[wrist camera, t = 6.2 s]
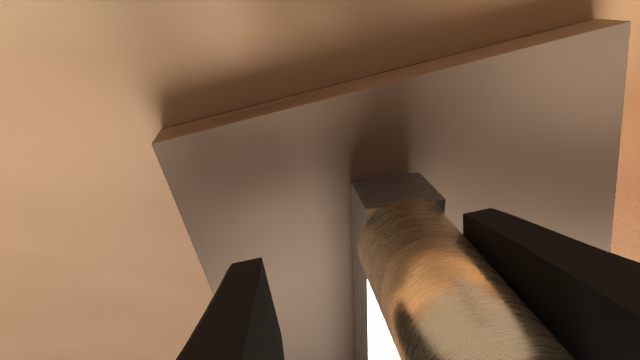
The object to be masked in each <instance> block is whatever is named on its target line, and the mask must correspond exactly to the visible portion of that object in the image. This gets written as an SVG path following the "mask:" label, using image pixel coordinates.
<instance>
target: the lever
mask: <svg viewBox="0 0 640 360" xmlns="http://www.w3.org/2000/svg"><path fill="white" fill-rule="evenodd" d="M350 197H351V228H352V259H353V290H354V321H355V352H356V360H575V359H574V358H573V357H572V356H571V355H570V354H569V353H568V352H567V351H566V349H565V348H564V347H563V346H562V345H561V344H560V343H559V342H558V340H557V339H556V338H555V337H554V336H553V335H552V334H551V333H550V331H549V330H548V329H547V328H546V327H545V326H544V325H543V324H542V323H541V321H540V320H539V319H538V318H537V317H536V316H535V315H534V314H533V312H532V311H531V310H530V309H529V308H528V307H527V306H526V305H525V304H524V302H523V301H522V300H521V299H520V298H519V297H518V296H517V295H516V293H515V292H514V291H513V290H512V289H511V288H510V287H509V286H508V284H507V283H506V282H505V281H504V280H503V279H502V278H501V277H500V276H499V274H498V273H497V272H496V271H495V270H494V269H493V268H492V267H491V265H490V264H489V263H488V262H487V261H486V260H485V259H484V258H483V256H482V255H481V254H480V253H479V252H478V251H477V250H476V249H475V248H474V246H473V245H472V244H471V243H470V242H469V241H468V240H467V239H466V237H465V236H464V235H463V234H462V233H461V232H460V231H459V230H458V229H457V227H456V226H455V225H454V224H453V223H452V222H451V221H450V220H449V218H448V217H447V216H446V215H445V201H446V199H445V198H444V197H443V196H442V195H441V194H440V193H439V192H438V191H437V190H436V189H435V188H434V187H433V186H432V185H431V184H430V183H429V182H428V181H427V180H426V179H425V178H424V177H423V175H422V174H421V173H420V172H416V173H407V174H399V175H390V176H381V177H373V178H364V179H355V180H350Z"/></svg>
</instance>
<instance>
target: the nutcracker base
mask: <svg viewBox="0 0 640 360" xmlns="http://www.w3.org/2000/svg"><path fill="white" fill-rule="evenodd" d="M630 23H631V21H619V20H604V19H592V20H589V21H585V22H581V23H577V24H573V25H569V26H565V27H561V28H557V29H553V30H549V31H545V32H541V33H537V34H534V35H530V36H526V37H522V38H518V39H514V40H510V41H506V42H502V43H498V44H494V45H490V46H486V47H482V48H479V49H475V50H471V51H467V52H463V53H459V54H455V55H451V56H447V57H443V58H439V59H435V60H431V61H427V62H424V63H420V64H416V65H412V66H408V67H404V68H400V69H396V70H392V71H388V72H384V73H380V74H376V75H372V76H369V77H365V78H361V79H357V80H353V81H349V82H345V83H341V84H337V85H333V86H329V87H325V88H321V89H318V90H314V91H310V92H306V93H302V94H298V95H294V96H290V97H286V98H282V99H278V100H274V101H270V102H266V103H263V104H259V105H255V106H251V107H247V108H243V109H239V110H235V111H231V112H227V113H223V114H219V115H215V116H211V117H208V118H204V119H200V120H196V121H192V122H188V123H184V124H180V125H176V126H172V127H168V128H164V129H161V131H160V132H159V134H158V135H157V137H156V138H155V140H154V141H153V143H152V146H153V148H154V151H155V153H156V156H157V158H158V161H159V163H160V165H161V168H162V170H163V173H164V175H165V178H166V180H167V182H168V185H169V187H170V190H171V192H172V195H173V197H174V199H175V202H176V204H177V207H178V209H179V211H180V214H181V216H182V219H183V221H184V224H185V226H186V228H187V231H188V233H189V236H190V238H191V241H192V243H193V245H194V248H195V250H196V253H197V255H198V257H199V260H200V262H201V265H202V267H203V270H204V272H205V274H206V277H207V279H208V282H209V284H210V287H211V289H212V291H213V294H214V295H215V293H216V291H217V289H218V287H219V285H220V283H221V281H222V279H223V277H224V275H225V273H226V272H227V270H228V268H229V267H230V265H231V264H232V263H237V262H241V261H246V260H251V259H255V258H260V257H262V260H263V264H264V268H265V272H266V276H267V280H268V284H269V288H270V292H271V295H272V299H273V303H274V307H275V311H276V315H277V319H278V323H279V327H280V331H281V335H282V343H283V351H284V359H285V360H356V352H355V321H354V290H353V259H352V228H351V197H350V180H355V179H364V178H373V177H381V176H390V175H399V174H407V173H416V172H420V173H421V174H422V175H423V177H424V178H425V179H426V180H427V181H428V182H429V183H430V184H431V185H432V186H433V187H434V188H435V189H436V190H437V191H438V192H439V193H440V194H441V195H442V196H443V197H444V198H445V199H446V201H445V215H446V216H447V217H448V218H449V220H450V221H451V222H452V223H453V224H454V225H455V226H456V227H457V229H458V230H459V231H460V232H461V233H462V234H463V214H465V213H469V212H474V211H479V210H483V209H488V208H493V209H496V210H499V211H502V212H505V213H508V214H511V215H514V216H516V217H519V218H522V219H524V220H527V221H529V222H532V223H535V224H537V225H540V226H542V227H545V228H547V229H550V230H552V231H555V232H557V233H560V234H563V235H565V236H568V237H570V238H573V239H575V240H578V241H581V242H583V243H586V244H589V245H591V246H594V247H597V248H599V249H602V250H605V251H607V252H610V248H611V237H612V226H613V215H614V203H615V192H616V181H617V169H618V158H619V147H620V136H621V124H622V113H623V102H624V90H625V79H626V68H627V57H628V45H629V34H630Z"/></svg>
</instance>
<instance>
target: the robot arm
mask: <svg viewBox="0 0 640 360" xmlns="http://www.w3.org/2000/svg"><path fill="white" fill-rule="evenodd" d="M463 235H464V236H465V237H466V239H467V240H468V241H469V242H470V243H471V244H472V245H473V246H474V248H475V249H476V250H477V251H478V252H479V253H480V254H481V255H482V256H483V258H484V259H485V260H486V261H487V262H488V263H489V264H490V265H491V267H492V268H493V269H494V270H495V271H496V272H497V273H498V274H499V276H500V277H501V278H502V279H503V280H504V281H505V282H506V283H507V284H508V286H509V287H510V288H511V289H512V290H513V291H514V292H515V293H516V295H517V296H518V297H519V298H520V299H521V300H522V301H523V302H524V304H525V305H526V306H527V307H528V308H529V309H530V310H531V311H532V312H533V314H534V315H535V316H536V317H537V318H538V319H539V320H540V321H541V323H542V324H543V325H544V326H545V327H546V328H547V329H548V330H549V331H550V333H551V334H552V335H553V336H554V337H555V338H556V339H557V340H558V342H559V343H560V344H561V345H562V346H563V347H564V348H565V349H566V351H567V352H568V353H569V354H570V355H571V356H572V357H573V358H574V359H575V360H640V263H639V262H636V261H633V260H630V259H627V258H624V257H621V256H618V255H616V254H613V253H610V252H607V251H605V250H602V249H599V248H597V247H594V246H591V245H589V244H586V243H583V242H581V241H578V240H575V239H573V238H570V237H568V236H565V235H563V234H560V233H557V232H555V231H552V230H550V229H547V228H545V227H542V226H540V225H537V224H535V223H532V222H529V221H527V220H524V219H522V218H519V217H516V216H514V215H511V214H508V213H505V212H502V211H499V210H496V209H493V208H488V209H483V210H479V211H474V212H469V213H465V214H463ZM176 360H285V359H284V351H283V343H282V335H281V331H280V327H279V323H278V319H277V315H276V311H275V307H274V303H273V299H272V295H271V292H270V288H269V284H268V280H267V276H266V272H265V268H264V264H263V260H262V257H260V258H255V259H251V260H246V261H241V262H237V263H232V264H231V265H230V267H229V268H228V270H227V272H226V273H225V275H224V277H223V279H222V281H221V283H220V285H219V287H218V289H217V291H216V293H215V295H214V296H213V298H212V300H211V302H210V304H209V305H208V307H207V309H206V311H205V313H204V314H203V316H202V318H201V319H200V321H199V323H198V325H197V326H196V328H195V330H194V331H193V333H192V335H191V336H190V338H189V340H188V341H187V343H186V345H185V346H184V348H183V350H182V351H181V353H180V354H179V356H178V357H177V359H176Z"/></svg>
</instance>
